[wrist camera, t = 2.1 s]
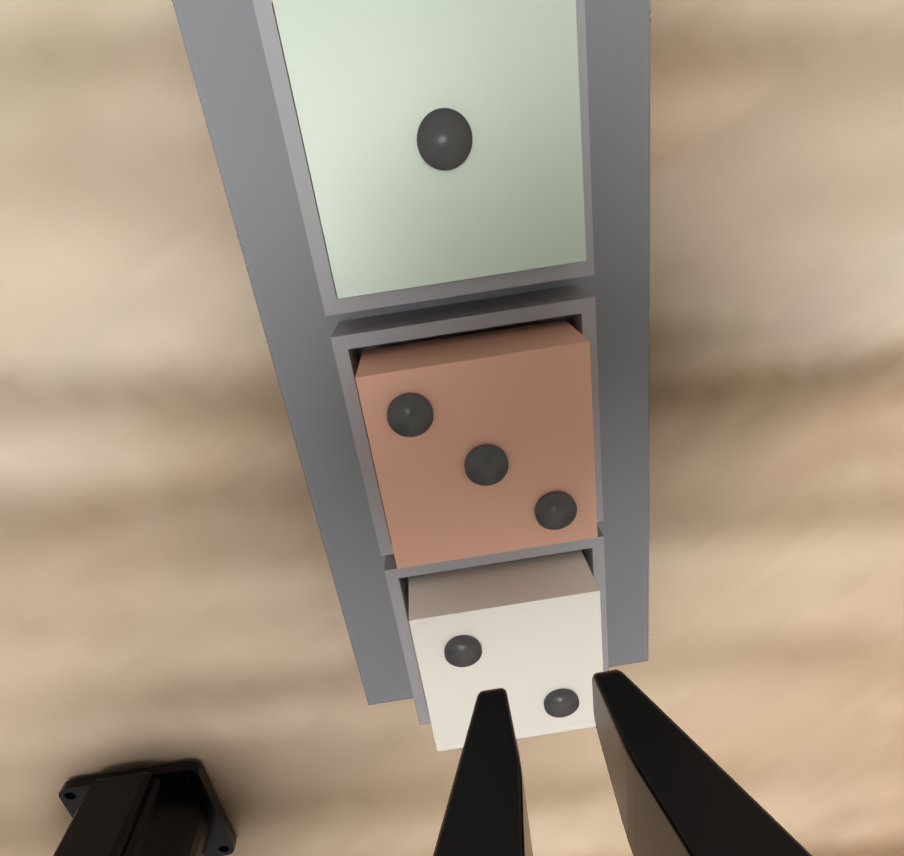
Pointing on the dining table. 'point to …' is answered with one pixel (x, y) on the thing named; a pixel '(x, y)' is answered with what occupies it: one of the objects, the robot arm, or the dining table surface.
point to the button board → (439, 319)
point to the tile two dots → (508, 643)
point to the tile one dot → (439, 135)
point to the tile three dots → (482, 441)
